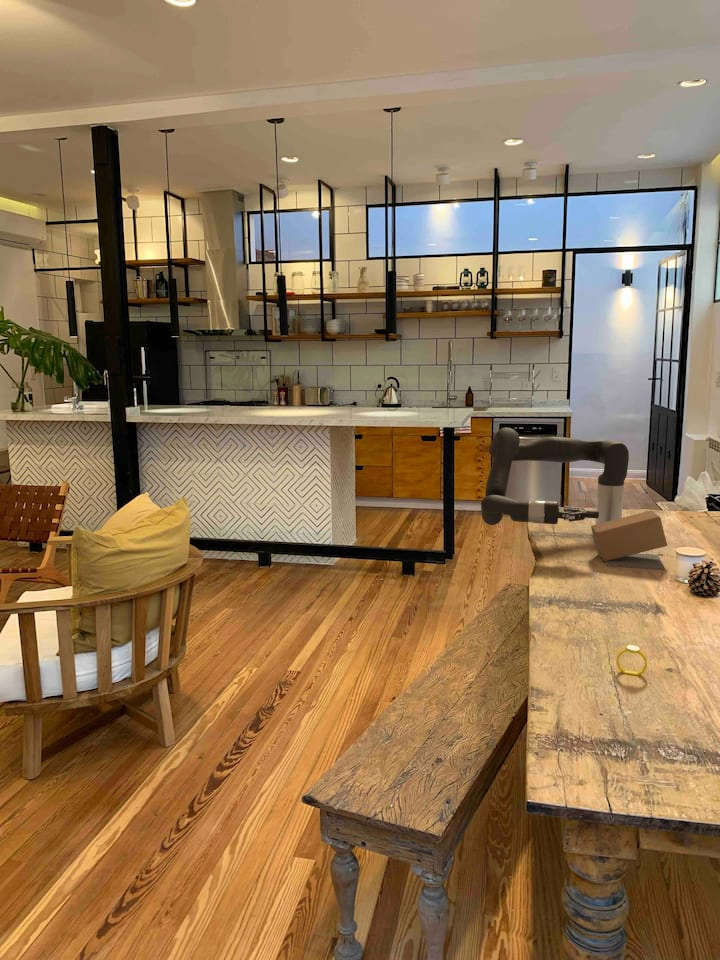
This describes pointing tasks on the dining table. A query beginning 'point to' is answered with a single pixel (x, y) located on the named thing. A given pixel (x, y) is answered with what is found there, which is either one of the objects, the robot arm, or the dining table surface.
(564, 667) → the dining table surface
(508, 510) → the robot arm
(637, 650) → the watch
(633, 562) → the charcoal mat
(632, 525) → the wooden block
